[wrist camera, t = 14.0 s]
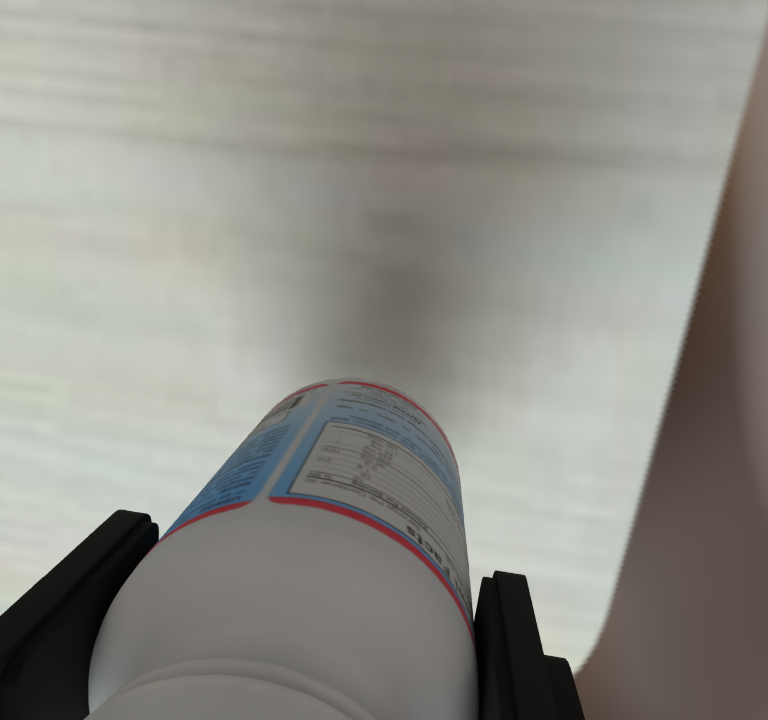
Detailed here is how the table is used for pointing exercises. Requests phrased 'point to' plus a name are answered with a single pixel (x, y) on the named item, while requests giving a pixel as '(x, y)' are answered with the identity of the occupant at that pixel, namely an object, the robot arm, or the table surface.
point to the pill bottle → (305, 578)
